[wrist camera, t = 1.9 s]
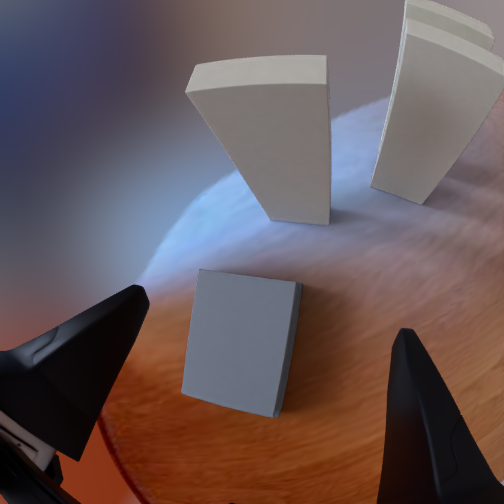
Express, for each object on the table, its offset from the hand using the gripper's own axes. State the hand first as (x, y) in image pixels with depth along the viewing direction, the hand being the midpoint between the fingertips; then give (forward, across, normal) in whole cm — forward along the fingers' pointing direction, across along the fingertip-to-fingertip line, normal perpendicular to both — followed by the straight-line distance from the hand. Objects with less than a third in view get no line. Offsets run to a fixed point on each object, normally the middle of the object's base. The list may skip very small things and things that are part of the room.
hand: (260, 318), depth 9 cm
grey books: (+7, +4, +12) cm, 15 cm away
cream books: (+19, -8, 0) cm, 21 cm away
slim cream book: (+15, +1, +4) cm, 16 cm away
